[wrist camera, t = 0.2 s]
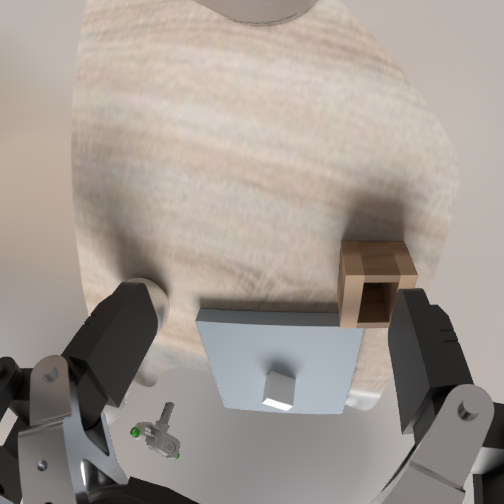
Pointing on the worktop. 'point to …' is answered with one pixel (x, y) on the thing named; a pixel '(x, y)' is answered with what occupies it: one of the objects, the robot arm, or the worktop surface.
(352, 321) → the tan hollow open box
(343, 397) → the flat blue-gray panel
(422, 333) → the robot arm
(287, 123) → the worktop surface
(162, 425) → the mechanical component
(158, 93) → the worktop surface
